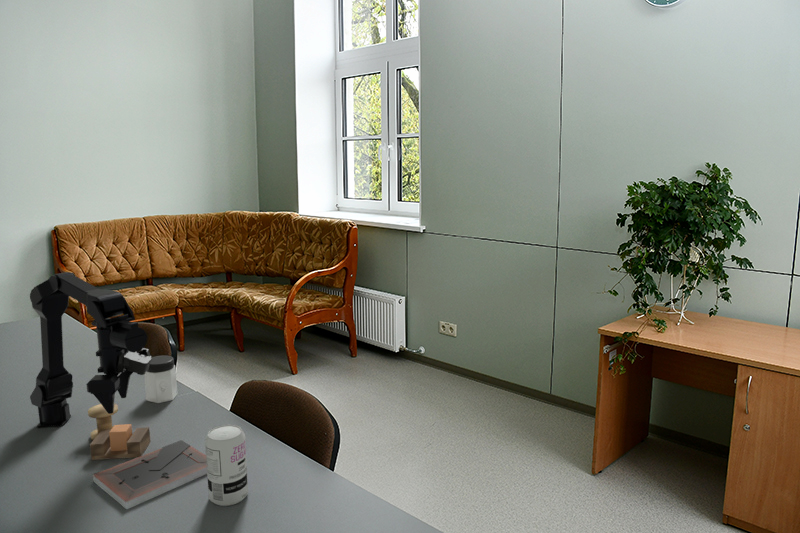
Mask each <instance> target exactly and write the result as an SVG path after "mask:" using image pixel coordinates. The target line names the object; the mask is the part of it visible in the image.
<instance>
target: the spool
mask: <svg viewBox="0 0 800 533" xmlns="http://www.w3.org/2000/svg"><path fill="white" fill-rule="evenodd" d="M118 411H119V407H118V404H116V403H114V412H113V413H112V414H108V413H107V411H106V410H105V409H104V407H103V406H102V404H101V403H99V404H96V405H93V406H91V407H90V408H89V409H88V410H87V415H88V417H90V418H92V419H95V420H96V429H94V430H92V431H91V432H90V433H89V434H90V440H91V441H93V440H94V439H95V438H96V436H97V435H98V434H99V433H100V432H101V430H104V429H112V428H113V427H114V425H113V419H112V418H113V417H112V416H113V415H115V414H117V413H118Z"/></svg>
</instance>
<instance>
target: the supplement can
mask: <svg viewBox="0 0 800 533" xmlns="http://www.w3.org/2000/svg"><path fill="white" fill-rule="evenodd" d="M204 442H205V443H204V445H205V455H206V463H207V474H206V475H207V476H206V477H207V488H208V499H209V501H210V502H211V503H213V504H215V505H217V506H221V507H227V506H228V507H229V506H233V505H235V504H238V503H241V502H242V501H243V500H245V498H246V497H247V495H248V494H249V481H248V479H249V478H248V466H247V465H248V464H247V461H248V460H247V447H246V434H245V432H244V431H243V429H242V428H241V426H239V425H234V424H224V425H219V426H216V427H214V428H212V429H210V430H209V431H208V432H207V437H205V440H204Z"/></svg>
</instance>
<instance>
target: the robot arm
mask: <svg viewBox="0 0 800 533" xmlns="http://www.w3.org/2000/svg"><path fill="white" fill-rule="evenodd" d="M69 298H72V299H74V300H75V301H77V302H79V303H81V304H82V305H84V306H85V307H86V313H87V314H89V315H90V316H91V317H92V318H93V319H94V320H92V322H91V326H94V327H96V336H97V337H96V338H97V345H98V346H97V347H98V350H96V352H95V356H96V357H99V367H98V368H97V374H95V375H94V376H92V378H91V379H90V380H89V381H88V382H87V383H86V384H85V385H86V392H87V393H89V394H90V395H93V396H94V397H95V398H96V400H97V401H98V402H99V404H102V406H103V407H104V409H105V410H106V411H107V413H108V414H112V413H113V412H114V404H115V397H116V396H115V393H116V392H118V394H119V396H120V398H121V399H126V398H127V395H128V391H129V384H130V379H131V376H132V375H133V373H135V374H137V375H139V376H144V374H145V373H146V371H148V369H149V365H150V362H151V361H152V358H151V357H153V356H152V355H151V354H150V349H149V348H145V346H146V345H147V344H148V343H147V342H148V334H147V332H146V330H145V329H143V328H141V327H139V323H138V322H137V321H135V320H136V318H135V314H134V311H133V309H132V308H131V307H130V305H129V303H128V301H127V300H126V298H125V296H124V295H123V294H122V293H121V292H119V291H118V290H117V291H116V290H113V289H103V288H102V289H100V288H98V287H96V286H94V285H93V284H91V283H89V282H87V281H85V280H84V279H82V278H80V277H78V276H77V275H76V274H75V273H74V272H71V271H66V272H61V273H54V274H53V275H51V276H50V277H49V278H48V279H47V280H45V281H43V282H40V283H39V284H37V285H36V286H34V287H33V288H32V289H31V290H30V294H29V300H30V302H31V306H32V309H33V310H34V312H36V315H38V316H39V317H40V318H39V319H40V322H39V323H40V337H41V338H40V340H41V343H40V344H41V358H42V359H41V360H42V368H41V369H40V371H39V373H38V374H37V376H36V378H35V388H34V389H33V391H32V393H31V394H30V395H29V399H30V400H29V401H30V402H31V405H33V406H35V407H37V411H38V412H37V413H38V419H39V422H38V424H37V425H36V428H44V427H45V428H46V427H49V428H51V427H61V426H63V425H64V424H65V423H66V422H67V421H68V420H69V419H70V418H72V414H71V412H70V403H67V402H68V401H67V399H69V398H70V399H71V398H72V396H73V387H74V382H73V374H72V373H71V372H69V370H67V369H66V368H65V365H64V341H63V321H62V320H63V319H62V318H63V315H64V313H65V312H66V310H67V309H68V307H69ZM99 373H100V374H99Z"/></svg>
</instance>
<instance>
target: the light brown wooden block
mask: <svg viewBox="0 0 800 533" xmlns="http://www.w3.org/2000/svg"><path fill="white" fill-rule="evenodd" d="M113 426H114V427H113V428H112V429H111V430H110V432H109V436H110V446H111V451H123V450H127V441H128V440H129V439H130V437H131V436H132V434H133V427H132V423H129V424H128V423H127V424H125V423H124V424H114V425H113Z"/></svg>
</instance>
